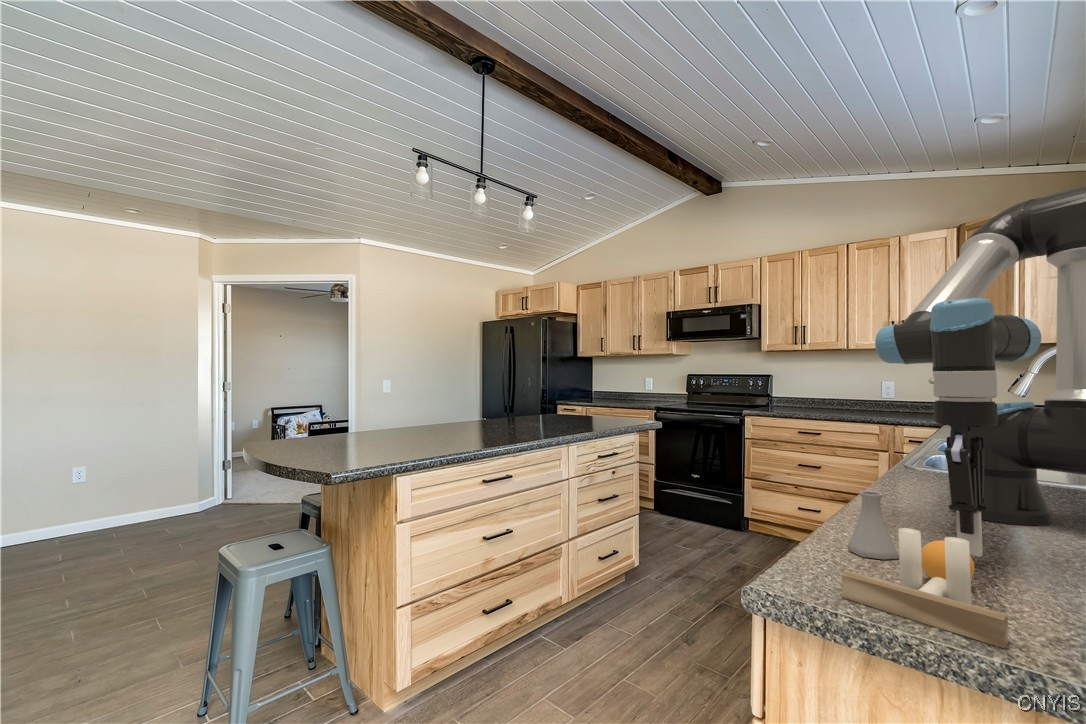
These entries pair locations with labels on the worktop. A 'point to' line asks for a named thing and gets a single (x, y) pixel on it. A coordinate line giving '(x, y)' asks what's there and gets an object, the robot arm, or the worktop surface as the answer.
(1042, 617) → the worktop surface
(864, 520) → the flask
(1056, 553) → the worktop surface
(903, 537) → the pin
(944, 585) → the pin front
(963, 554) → the pin
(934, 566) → the ball
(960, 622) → the back wall
